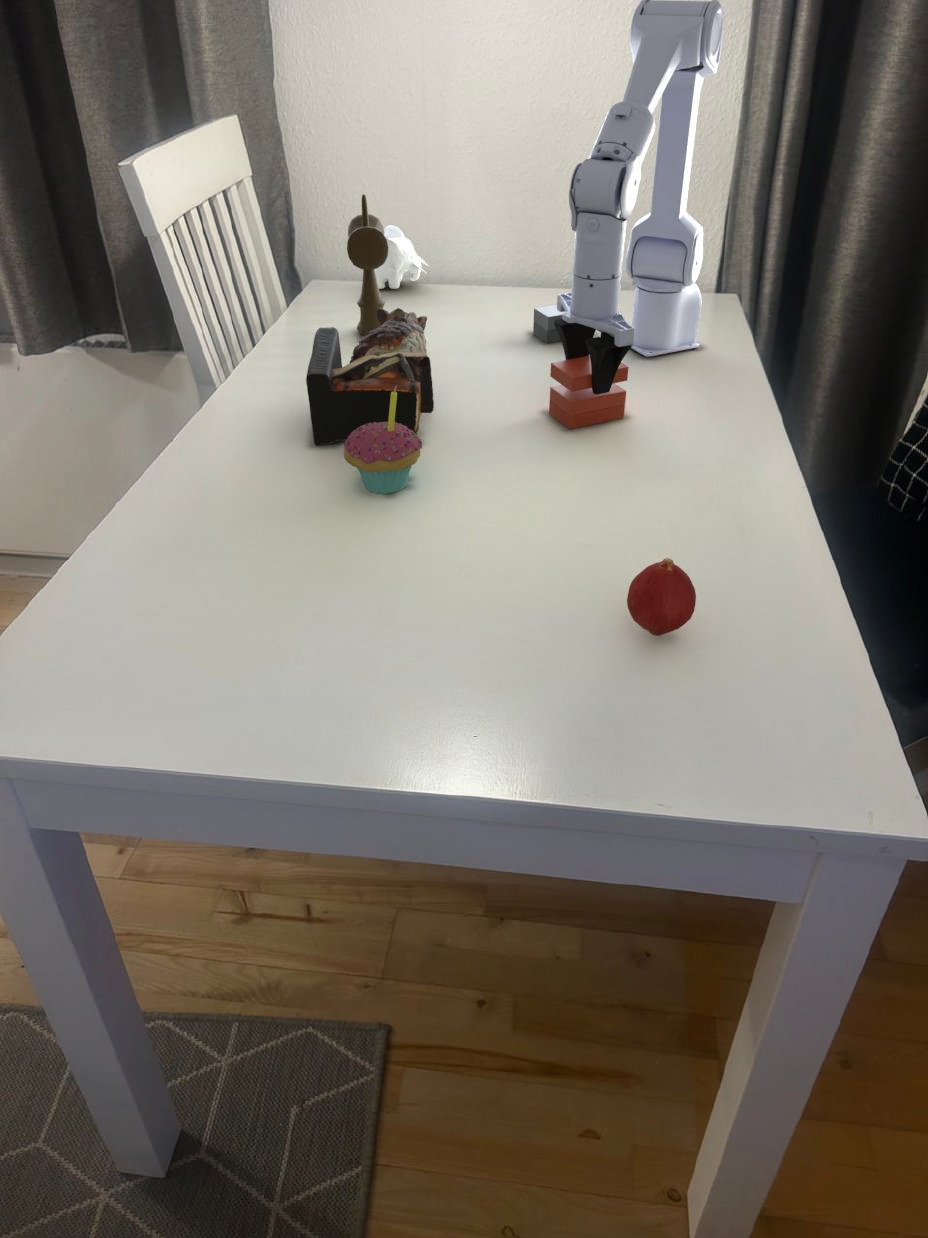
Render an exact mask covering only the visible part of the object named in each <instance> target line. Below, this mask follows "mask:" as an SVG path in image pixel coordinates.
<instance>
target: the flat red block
mask: <svg viewBox="0 0 928 1238" xmlns="http://www.w3.org/2000/svg"><path fill="white" fill-rule="evenodd" d="M629 369H630V367H629V366H628V365H626V364H624V363H623V362H621V363H620V365H619V368H618V370H617V372H616V375H615V378H614V380H613V383H615V384H618V383H623V382H628V377H629ZM549 375H550V378H551V379H553V380H554V381H556V383H559V385H563V386H564V387H566V388H567V389H568V390H570V391H571V392H574V391H579V390H584V389H589V388H592V369H591V360H590V355H589V356H585V357H580V358H575V359H569V360H566V359H565V360H560V361H555V362H550V373H549ZM613 383H612V384H613Z"/></svg>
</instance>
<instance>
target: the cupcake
mask: <svg viewBox="0 0 928 1238" xmlns="http://www.w3.org/2000/svg"><path fill="white" fill-rule="evenodd" d="M396 387H397V386H395V387H394V392H391V399H390V409H389V419H388V422H386V421H385V422H378V423H376V422H373V423H370V424H368V423H367V424H364V425H362V426H360V427H359V428H357V429H356V430H354V431H352V433H350V434H349V435H348V436H347V437H348V438H347V440H345V442H344V450H343V458H344V460H345V461H346V463H348V464H349V465H350V466H352V467H353V468H356V469H357V472H358V473H359V475H360V477H361V479H362V482H363V484H364V487H365V488H366V489H367V491H370V492H372V493H374V494H380V495H381V494H382V495H386V494H393V493H397V492H400V491H402V490H403V489H404V488H405V487H406V485H407V484H408V481H409V476H410V472H411V469H412V467H413V466H414V465H415V464H416V463H417V462H418V459H419V458H420V456H421V453H422V452H421V449H422V448H423V442H422V440H421V438H419V437H418V436H417V432H416V433H414V432H413V430H410V429H409V428H407V426H405V425H402V424H401V423H400V424H399V423H396V422H394V420H395V411H396V401H397V392H396Z"/></svg>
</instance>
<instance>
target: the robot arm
mask: <svg viewBox="0 0 928 1238" xmlns="http://www.w3.org/2000/svg"><path fill="white" fill-rule="evenodd" d="M724 15H725V14H724V8H723V6H722V5H721V2H720V1H719V0H708V1H705V0H641V1H639V4H638V5H637V6H636V8H635V10H634V12H633V16H632V18H631V25H630V34H629V44H630V51H631V54H632V56H631V57H632V62H633V65H632V69H631V72H630V75H629V78H628V82H627V85H626V88H625V92H624V95H623V98H622V101H619V102H615V104H613V105H612V106H611V107H610V108H609V109H608V110H607V113H606V116H605V119H604V121H603V123H602V125H601V128H600V130H599V132H598V135H597V137H596V139H595V142H594V144H593V147H592V150H591V151H590V154H589V157H588V158H586V159H584V160H583V161H582V162H578V163H577V164H576V166H575V167H574V170H573V172H572V175H571V177H570V178H571V179H570V184H569V190H568V205H569V209H570V215H571V220H570V221H571V222H570V225H571V231H573V232H574V244H573V245H574V246H573V262H572V277H571V278H572V279H571V292H565V293H559V294H557V296H556V305H557V310H558V311H560V312H564V311H565V313H563V314H562V319H557V320H555V321H554V326H555V328H556V330H557V332H558V334H559V336H560V339H561V341H560V342H561V346H562V349H563V353H564V357H565V360H569V359H575V358H580V357H585V356H590V360H591V369H592V390H593V393H594V394H595V395H598V394H603V393H607V392H609V391H610V389H611V386H612V383H613V380H614V378H615V375H616V372H617V370H618V368H619V365H620V363H623V362H622V361H624V359H625V356H626V355H627V354H628V352H629V351H630V349H632V350H634V351H635V352H637V353H639V354H640V355H643V356H644V357H646V358H650V357H655V356H660V355H666V354H671V353H676V352H681V351H686V350H692V349H696V348H699V347H700V343H698V342H697V338H698V332H699V326H700V325H699V324H700V317H701V311H702V304H703V303H702V302H703V301H702V294H701V290H700V288H699V287H698V285H697V283H696V282H697V280H698V279H699V278H698V277H699V275H700V273H701V269H702V265H703V259H704V245H703V243H704V231H703V230H704V228H703V226H701V224H699V223H698V221H696V220H695V219H694V218H693V217H692V216H691V215H690V214H689V213H688V212H687V203H688V195H689V188H690V187H689V186H690V178H691V177H690V176H691V170H692V161H693V154H694V153H693V152H694V146H695V136H696V129H697V119H698V111H699V103H700V95H701V90H702V87H703V83H704V80H705V78H707V77H711V76H712V75H715V74H716V73H717V71H718V67H719V63H720V60H721V59H720V58H721V52H722V43H723V37H724V36H723V35H724V28H725V16H724ZM659 101H660V110H659V120H658V130H657V141H656V150H655V151H656V152H655V161H654V171H653V182H652V190H651V191H652V193H651V202H650V203H651V204H650V212H649V213H648V214H646V215H644V216H643V217H641V218H640V219H638V220H637V221H636V222H635V224H634V225H633V227H632V229H631V231H630V237H629V243H628V246H627V250H626V254H625V255H624V253H625V245H626V233H627V224H628V223H627V222H628V218H629V217H630V216H631V215H632V212H633V210H634V208H635V205H636V201H637V197H638V192H639V186H640V182H641V178H642V172H641V166H642V165H643V164H642V163H643V161H644V159H645V156H646V154H647V151H648V149H649V147H650V143H651V141H652V140H653V136H654V134H655V131H656V122H655V118H654V115H653V113H654V110H655V108H656V106H657V105H658V103H659ZM624 256H625V260H624ZM624 261H625V264H624ZM624 265H625V272H626V274H627V277H628V278H629V279H630V280H632V281H631V285H632V286H634V287H635V288H634V299H633V308H632V316H631V325H630V324H629V322H628V321H627V319H626V318H625V317H624V315H623V313H622V312H621V310H620V309H619V308H620V299H621V298H620V297H621V287H622V276H623V266H624ZM596 331H598V332H599V333H600V336H595V333H596ZM594 336H595V337H594Z"/></svg>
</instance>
